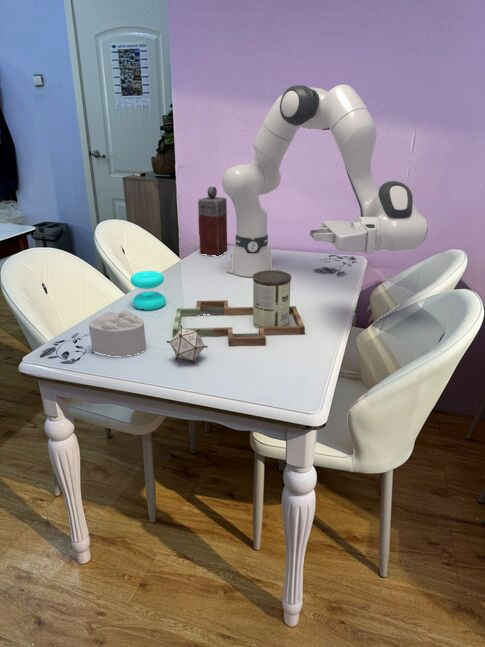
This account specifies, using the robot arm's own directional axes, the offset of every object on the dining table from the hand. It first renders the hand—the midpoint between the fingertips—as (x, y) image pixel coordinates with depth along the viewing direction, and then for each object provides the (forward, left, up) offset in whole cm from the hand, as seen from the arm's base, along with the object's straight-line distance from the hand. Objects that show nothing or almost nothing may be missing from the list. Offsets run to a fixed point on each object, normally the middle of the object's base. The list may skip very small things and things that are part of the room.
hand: (311, 234), depth 118 cm
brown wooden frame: (0, -20, -25) cm, 32 cm away
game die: (+20, -32, -25) cm, 46 cm away
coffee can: (0, -10, -25) cm, 27 cm away
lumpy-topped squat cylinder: (+13, -49, -25) cm, 57 cm away
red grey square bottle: (-77, -28, -25) cm, 86 cm away
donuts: (-16, -46, -25) cm, 55 cm away
